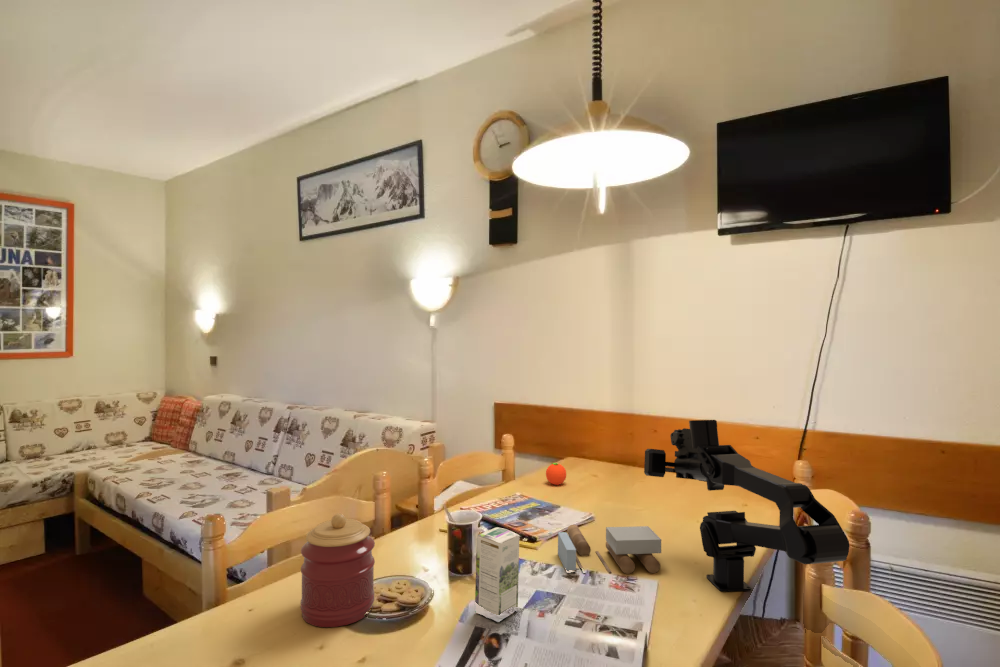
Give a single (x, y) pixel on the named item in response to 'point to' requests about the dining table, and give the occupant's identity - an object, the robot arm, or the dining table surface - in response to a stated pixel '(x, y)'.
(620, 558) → the roller track
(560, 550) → the bar
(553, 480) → the clementine
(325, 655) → the dining table surface
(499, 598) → the syrup box
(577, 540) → the roller
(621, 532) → the slab
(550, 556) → the dining table surface
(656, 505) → the dining table surface
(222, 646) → the dining table surface
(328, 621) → the canister
